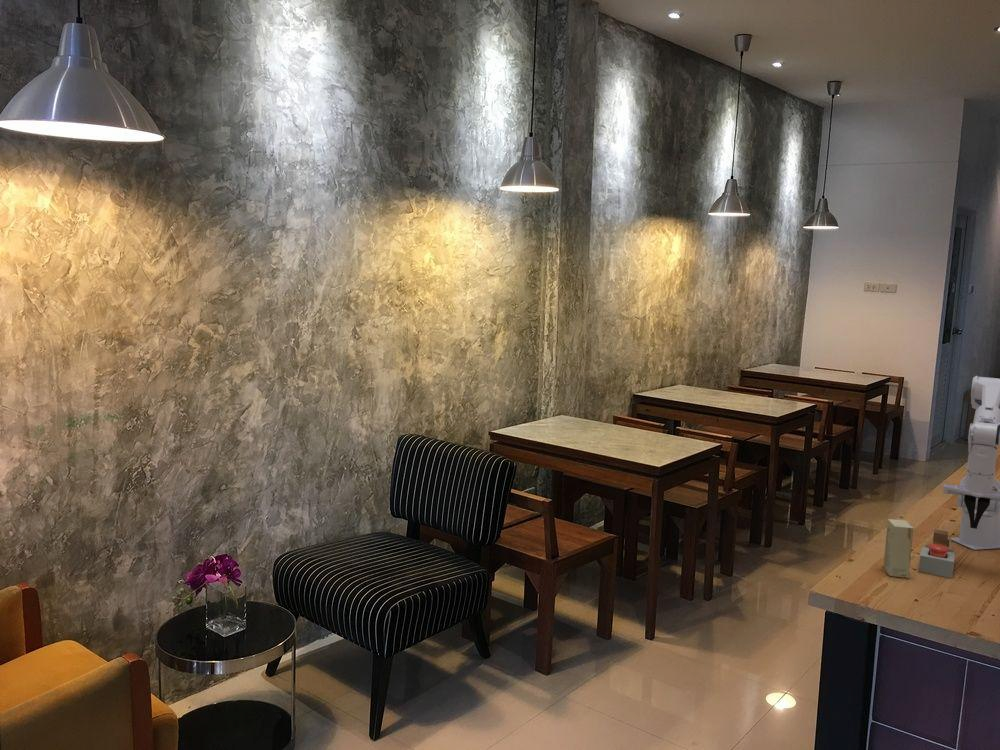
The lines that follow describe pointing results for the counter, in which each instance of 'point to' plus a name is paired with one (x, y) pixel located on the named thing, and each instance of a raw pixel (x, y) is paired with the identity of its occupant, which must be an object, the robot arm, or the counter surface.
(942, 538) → the carriage
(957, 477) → the counter surface
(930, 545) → the plunger
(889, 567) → the skincare box
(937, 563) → the grey rectangular block
